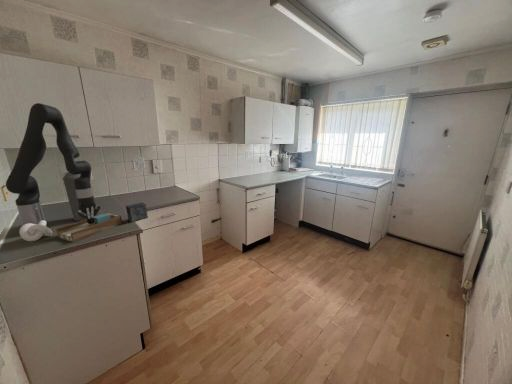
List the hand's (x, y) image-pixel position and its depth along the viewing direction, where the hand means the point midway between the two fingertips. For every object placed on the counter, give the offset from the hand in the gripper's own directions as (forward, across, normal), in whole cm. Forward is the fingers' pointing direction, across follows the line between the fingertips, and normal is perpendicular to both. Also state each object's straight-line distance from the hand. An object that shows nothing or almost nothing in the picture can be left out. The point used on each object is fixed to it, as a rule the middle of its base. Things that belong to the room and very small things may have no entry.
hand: (91, 223), depth 123 cm
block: (+1, -6, +1) cm, 6 cm away
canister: (+4, -10, -25) cm, 27 cm away
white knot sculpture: (+4, +17, -16) cm, 24 cm away
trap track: (+4, 0, 0) cm, 4 cm away
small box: (+4, -23, +10) cm, 25 cm away
